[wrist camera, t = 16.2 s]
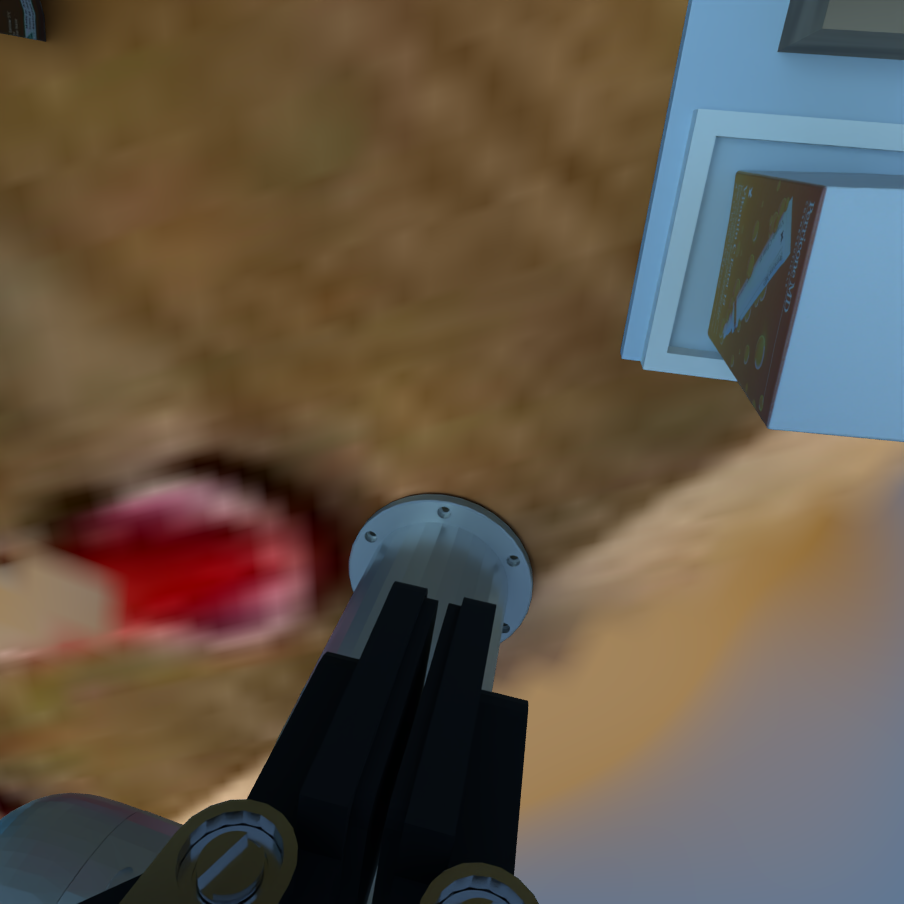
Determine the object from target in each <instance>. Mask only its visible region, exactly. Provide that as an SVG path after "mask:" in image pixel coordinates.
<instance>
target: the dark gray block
mask: <svg viewBox="0 0 904 904" xmlns="http://www.w3.org/2000/svg"><path fill="white" fill-rule="evenodd" d="M777 52H786V53H801V54H817V55H832V56H847V57H863V58H878V59H893V60H904V0H790V3H789V7H788V11H787V15H786V19H785V23H784V27H783V31H782V35H781V39H780V43H779V47H778V51H777Z"/></svg>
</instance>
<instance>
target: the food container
mask: <svg viewBox="0 0 904 904" xmlns="http://www.w3.org/2000/svg"><path fill="white" fill-rule="evenodd" d="M0 33H2V34H8V35H13V36H18V37H24V38H29V39H34V40H40V41H45V42H46V35H45V18H44V13H43V9H42V6H41V2H40V0H0Z"/></svg>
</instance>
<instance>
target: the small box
mask: <svg viewBox="0 0 904 904" xmlns="http://www.w3.org/2000/svg"><path fill="white" fill-rule="evenodd" d="M708 336H709V338H710V340H711V341H712V343H713V344H714V346H715V347H716V349H717V350H718V352H719V354H720V355H721V357H722V358H723V360H724V361H725V363H726V364H727V366H728V367H729V369H730V371H731V372H732V374H733V375H734V377H735V378H736V380H737V381H738V383H739V385H740V386H741V387H742V389H743V391H744V392H745V394H746V395H747V397H748V399H749V400H750V402H751V403H752V405H753V406H754V408H755V409H756V411H757V412H758V414H759V416H760V417H761V419H762V420H763V422H764V423H765V425H766V427H767V428H768V429H773V430H785V431H796V432H806V433H816V434H826V435H837V436H847V437H857V438H868V439H878V440H889V441H899V442H904V175H886V174H865V173H834V172H794V171H743V170H740V171H738V172H736V176H735V184H734V191H733V198H732V205H731V211H730V217H729V223H728V229H727V234H726V239H725V245H724V251H723V257H722V262H721V267H720V273H719V278H718V283H717V288H716V293H715V298H714V304H713V309H712V314H711V318H710V324H709V328H708Z"/></svg>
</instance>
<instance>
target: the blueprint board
mask: <svg viewBox="0 0 904 904" xmlns="http://www.w3.org/2000/svg"><path fill="white" fill-rule="evenodd" d="M789 3H790V0H689V2H688V7H687V12H686V17H685V23H684V28H683V33H682V38H681V43H680V48H679V53H678V58H677V64H676V69H675V74H674V79H673V84H672V89H671V94H670V99H669V105H668V110H667V115H666V120H665V125H664V130H663V135H662V140H661V146H660V151H659V156H658V161H657V166H656V171H655V176H654V181H653V187H652V192H651V197H650V202H649V207H648V212H647V217H646V222H645V228H644V233H643V238H642V243H641V248H640V253H639V258H638V263H637V269H636V274H635V279H634V284H633V289H632V294H631V299H630V304H629V310H628V315H627V320H626V325H625V330H624V335H623V340H622V345H621V351H620V352H621V357H622V359H628V360H636V361H641V364H642V368H643V369H645V370H652V371H660V372H668V373H676V374H684V375H691V376H699V377H707V378H715V379H723V380H730V381H737V380H736V378H735V377H734V375H733V374H732V372H731V371H730V369H729V367H728V366H727V364H726V363H725V361H724V360H723V358H722V357H721V355H720V354H719V352H718V350H717V349H716V347H715V346H714V344H713V343H712V341H711V340H710V338H709V336H708V328H709V324H710V318H711V314H712V309H713V304H714V298H715V293H716V288H717V283H718V278H719V273H720V267H721V262H722V257H723V251H724V245H725V239H726V234H727V229H728V223H729V217H730V211H731V205H732V198H733V191H734V184H735V176H736V172H738V171H740V170H743V171H794V172H834V173H865V174H886V175H904V60H893V59H878V58H863V57H847V56H832V55H817V54H801V53H786V52H777V51H778V47H779V43H780V39H781V35H782V31H783V27H784V23H785V19H786V15H787V11H788V7H789Z"/></svg>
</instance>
